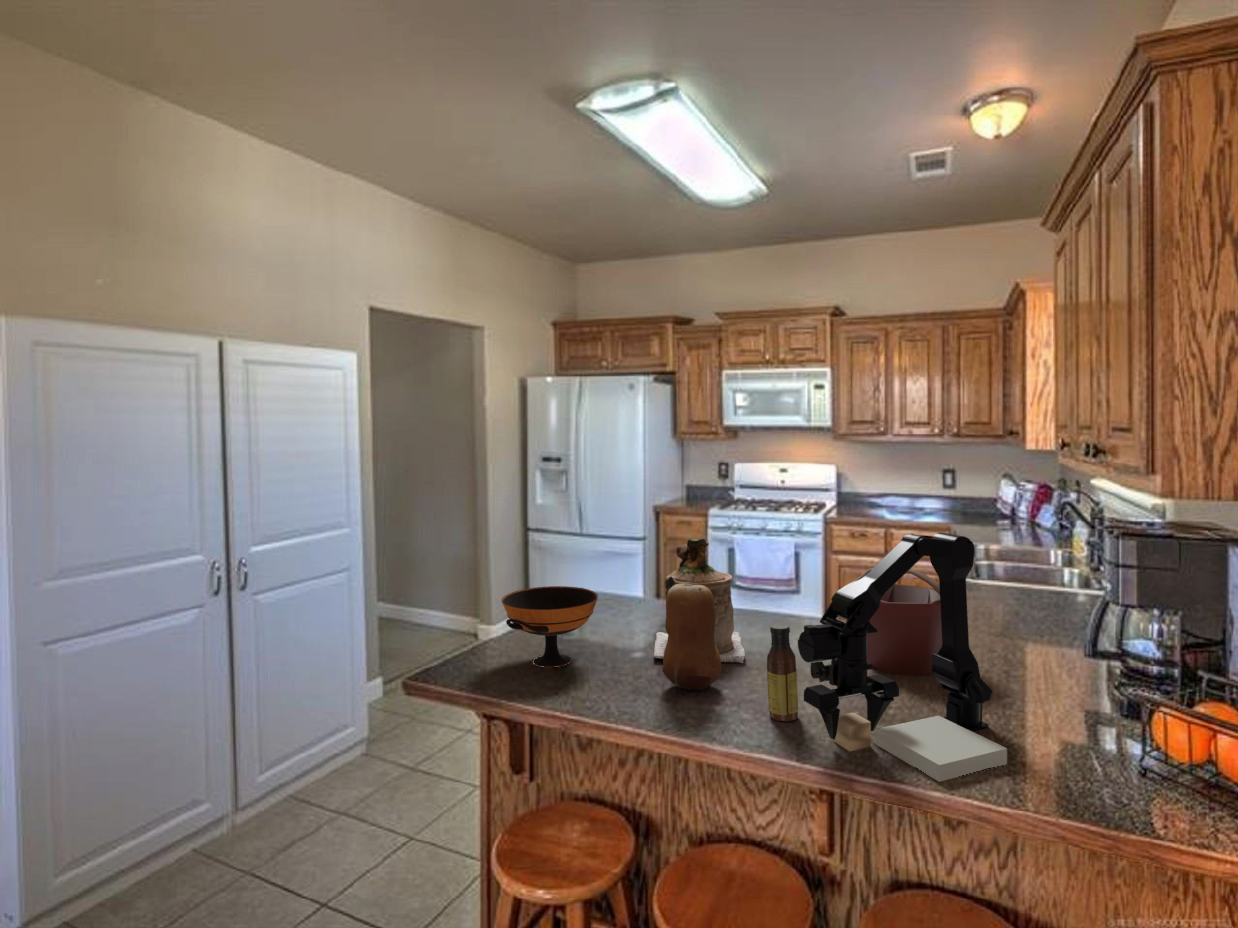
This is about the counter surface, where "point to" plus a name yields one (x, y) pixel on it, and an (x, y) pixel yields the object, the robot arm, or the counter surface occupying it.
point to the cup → (549, 615)
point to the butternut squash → (691, 637)
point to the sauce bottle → (782, 676)
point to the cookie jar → (719, 584)
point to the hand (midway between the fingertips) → (851, 734)
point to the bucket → (906, 628)
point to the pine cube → (853, 732)
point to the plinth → (940, 747)
